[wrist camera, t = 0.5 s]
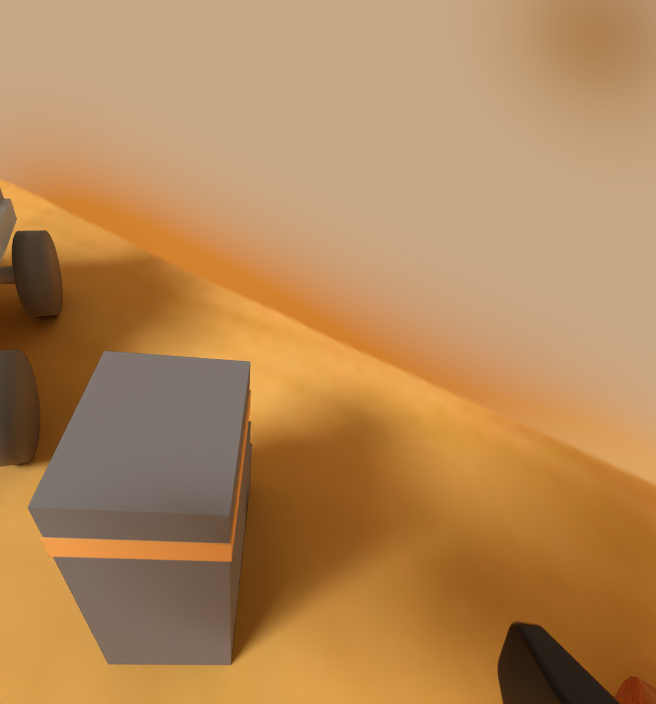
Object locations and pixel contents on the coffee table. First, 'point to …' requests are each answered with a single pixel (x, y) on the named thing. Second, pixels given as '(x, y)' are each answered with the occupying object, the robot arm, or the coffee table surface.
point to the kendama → (636, 692)
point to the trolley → (12, 365)
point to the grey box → (153, 506)
